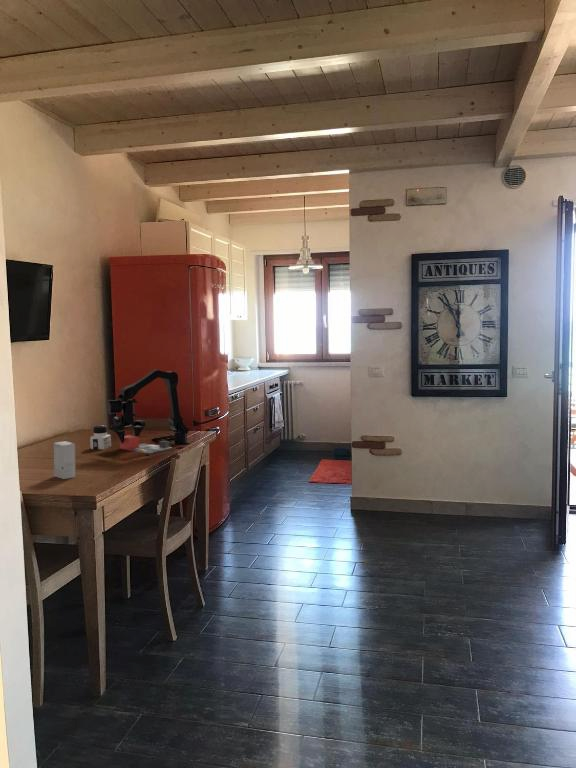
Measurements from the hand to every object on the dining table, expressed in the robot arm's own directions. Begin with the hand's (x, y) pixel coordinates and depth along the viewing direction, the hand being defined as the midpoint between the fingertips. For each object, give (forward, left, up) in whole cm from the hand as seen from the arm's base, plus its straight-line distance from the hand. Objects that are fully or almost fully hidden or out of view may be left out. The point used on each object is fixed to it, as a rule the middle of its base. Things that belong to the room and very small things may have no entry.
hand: (129, 442), depth 319 cm
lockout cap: (0, 0, -3) cm, 3 cm away
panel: (-4, +7, -5) cm, 10 cm away
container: (+7, -15, -5) cm, 17 cm away
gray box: (-10, +15, -3) cm, 18 cm away
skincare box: (+52, +18, -5) cm, 55 cm away
